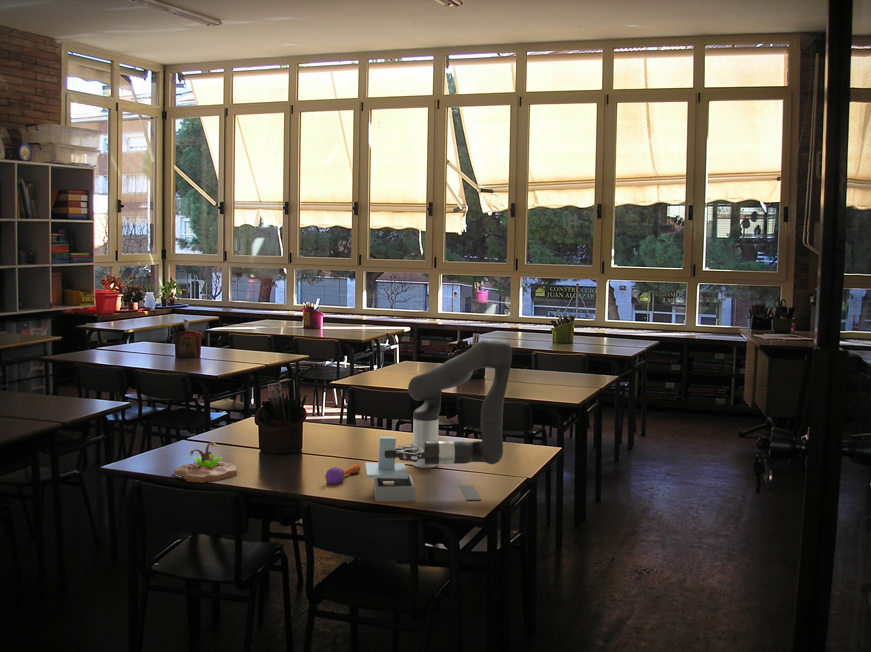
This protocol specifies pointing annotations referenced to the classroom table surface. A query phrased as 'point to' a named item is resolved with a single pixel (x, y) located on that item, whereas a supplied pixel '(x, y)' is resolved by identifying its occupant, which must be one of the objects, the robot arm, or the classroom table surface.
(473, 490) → the rubber mat
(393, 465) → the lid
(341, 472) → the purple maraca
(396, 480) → the parts tub
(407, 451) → the robot arm
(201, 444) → the classroom table surface
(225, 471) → the plant
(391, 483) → the wooden block
